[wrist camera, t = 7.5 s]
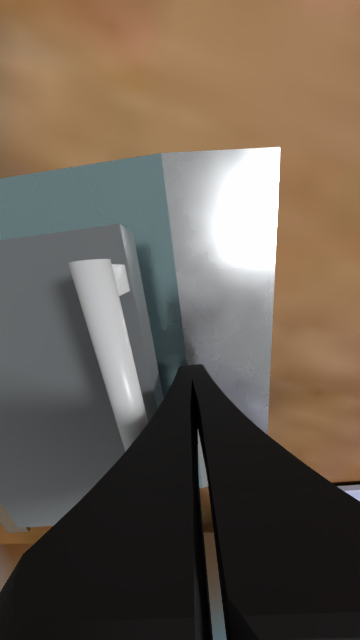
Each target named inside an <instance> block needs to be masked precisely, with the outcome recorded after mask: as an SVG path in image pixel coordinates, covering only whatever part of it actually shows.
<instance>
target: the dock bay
mask: <svg viewBox="0 0 360 640" xmlns="http://www.w3.org/2000/svg"><path fill="white" fill-rule="evenodd" d="M279 167H280V147H272V148H252V149H233V150H213V151H194V152H175V153H159V154H153V155H146V156H140V157H134V158H128V159H121V160H115V161H109V162H102V163H96V164H90V165H83V166H77V167H71V168H64V169H58V170H52V171H45V172H39V173H33V174H26V175H20V176H14V177H7V178H1V179H0V240H6V239H13V238H21V237H28V236H35V235H42V234H49V233H56V232H64V231H71V230H78V229H85V228H92V227H99V226H106V225H114V224H121V225H122V226H124V227H125V228H126V229H128V230H129V231H131V232H132V233H133V235H134V241H135V246H136V252H137V257H138V262H139V268H140V273H141V279H142V284H143V290H144V295H145V300H146V306H147V311H148V317H149V322H150V328H151V333H152V338H153V344H154V349H155V355H156V360H157V366H158V371H159V376H160V382H161V387H162V393H163V398H164V397H165V396H166V394H167V392H168V390H169V388H170V386H171V384H172V382H173V380H174V378H175V376H176V373H177V370H178V368H179V367H180V366H187V365H197V364H203V365H204V366H205V368H206V370H207V372H208V373H209V375H210V376H211V377H212V379H213V380H214V381H215V383H216V384H217V385H218V386H219V388H220V389H221V390H222V391H223V392H224V394H225V395H226V396H227V397H228V398H229V399H230V400H231V401H232V402H233V403H234V404H235V406H236V407H237V408H238V409H239V410H240V411H241V412H242V413H244V414H245V415H246V416H247V417H248V418H249V419H250V420H251V421H252V422H253V423H254V424H255V425H257V426H258V427H259V428H260V429H261V430H262V431H264V432H265V433H266V434H267V430H268V408H269V386H270V365H271V343H272V321H273V299H274V277H275V255H276V233H277V211H278V189H279ZM198 470H199V488H204V487H207V486H208V481H207V474H206V468H205V463H204V458H203V453H202V448H201V442H200V437H199V432H198ZM0 523H1V525H2V526H3V527H4V529H5V530H6V531H7V533H13V532H29V530H30V528H31V527H24V528H18V527H17V525H16V524H15V522H14V521H13V520H12V518H11V517H10V515H9V514H8V512H7V511H6V510H5V508H4V507H3V505H2V504H1V502H0Z"/></svg>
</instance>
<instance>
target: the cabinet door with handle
mask: <svg viewBox="0 0 360 640" xmlns="http://www.w3.org/2000/svg"><path fill="white" fill-rule="evenodd" d="M163 399H164V398H163V393H162V387H161V382H160V376H159V371H158V366H157V360H156V355H155V349H154V344H153V338H152V333H151V328H150V322H149V317H148V311H147V306H146V300H145V295H144V290H143V284H142V279H141V273H140V268H139V262H138V257H137V252H136V246H135V241H134V235H133V233H132V232H131V231H129V230H128V229H126V228H125V227H124V226H122V225H121V224H114V225H106V226H99V227H92V228H85V229H78V230H71V231H64V232H56V233H49V234H42V235H35V236H28V237H21V238H13V239H6V240H0V502H1V504H2V505H3V507H4V508H5V510H6V511H7V512H8V514H9V515H10V517H11V518H12V520H13V521H14V522H15V524H16V525H17V527H18V528H24V527H40V526H54V525H55V524H56V523H57V522H58V521H59V520H60V519H61V518H62V517H63V516H64V515H65V514H66V513H67V512H68V511H70V510H71V509H72V508H73V507H74V506H75V505H76V504H77V503H78V502H79V501H80V500H81V499H82V498H83V497H84V496H85V495H86V494H87V493H88V492H89V491H90V490H91V489H92V488H93V487H94V486H95V484H96V483H97V482H98V481H99V480H100V479H101V478H102V477H103V476H104V475H105V474H106V473H107V472H108V470H109V469H110V468H111V467H112V466H113V465H114V464H115V463H116V462H117V461H118V460H119V459H120V457H121V456H122V455H123V454H124V453H125V452H126V450H127V449H128V448H129V447H130V446H131V444H132V443H133V442H134V441H135V439H136V438H137V437H138V436H139V434H140V433H141V432H142V430H143V429H144V428H145V426H146V425H147V424H148V422H149V421H150V419H151V418H152V417H153V415H154V414H155V412H156V411H157V409H158V407H159V406H160V404H161V402H162V401H163Z"/></svg>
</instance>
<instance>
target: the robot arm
mask: <svg viewBox="0 0 360 640" xmlns="http://www.w3.org/2000/svg"><path fill="white" fill-rule="evenodd" d="M198 432H199V437H200V442H201V448H202V453H203V458H204V463H205V468H206V474H207V481H208V488H209V496H210V504H211V512H212V521H213V529H214V537H215V545H216V553H217V562H218V570H219V579H220V587H221V595H222V603H223V612H224V620H225V629H226V637H227V640H360V484H359V485H344V486H335V485H334V484H332V483H331V482H330V481H328V480H327V479H325V478H324V477H322V476H321V475H320V474H318V473H317V472H315V471H314V470H313V469H311V468H310V467H308V466H307V465H306V464H304V463H303V462H302V461H300V460H299V459H298V458H296V457H295V456H294V455H293V454H291V453H290V452H289V451H287V450H286V449H285V448H284V447H282V446H281V445H280V444H278V443H277V442H276V441H274V440H273V439H272V438H271V437H269V436H268V435H267V434H266V433H265V432H264V431H262V430H261V429H260V428H259V427H258V426H257V425H255V424H254V423H253V422H252V421H251V420H250V419H249V418H248V417H247V416H246V415H245V414H244V413H242V412H241V411H240V410H239V409H238V408H237V407H236V406H235V404H234V403H233V402H232V401H231V400H230V399H229V398H228V397H227V396H226V395H225V394H224V392H223V391H222V390H221V389H220V388H219V386H218V385H217V384H216V383H215V381H214V380H213V379H212V377H211V376H210V375H209V373H208V372H207V370H206V368H205V366H204V365H203V364H197V365H187V366H180V367H179V368H178V370H177V373H176V376H175V378H174V380H173V382H172V384H171V386H170V388H169V390H168V392H167V394H166V396H165V397H164V399H163V401H162V402H161V404H160V406H159V407H158V409H157V411H156V412H155V414H154V415H153V417H152V418H151V419H150V421H149V422H148V424H147V425H146V426H145V428H144V429H143V430H142V432H141V433H140V434H139V436H138V437H137V438H136V439H135V441H134V442H133V443H132V444H131V446H130V447H129V448H128V449H127V450H126V452H125V453H124V454H123V455H122V456H121V457H120V459H119V460H118V461H117V462H116V463H115V464H114V465H113V466H112V467H111V468H110V469H109V470H108V472H107V473H106V474H105V475H104V476H103V477H102V478H101V479H100V480H99V481H98V482H97V483H96V484H95V486H94V487H93V488H92V489H91V490H90V491H89V492H88V493H87V494H86V495H85V496H84V497H83V498H82V499H81V500H80V501H79V502H78V503H77V504H76V505H75V506H74V507H73V508H72V509H71V510H70V511H68V512H67V513H66V514H65V515H64V516H63V517H62V518H61V519H60V520H59V521H58V522H57V523H56V524H55V525H54V526H53V527H52V528H51V529H50V530H49V531H48V532H47V533H45V534H44V535H43V536H42V537H41V538H40V539H39V540H38V541H37V542H36V543H35V544H34V545H33V546H32V547H31V548H30V549H28V550H27V551H26V552H25V553H24V554H23V555H22V557H21V559H20V560H19V562H18V564H17V565H16V567H15V569H14V570H13V572H12V574H11V575H10V577H9V579H8V580H7V582H6V584H5V585H4V587H3V588H2V590H1V592H0V640H213V635H212V624H211V613H210V602H209V591H208V581H207V570H206V558H205V546H204V535H203V523H202V511H201V500H200V488H199V470H198Z"/></svg>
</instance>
